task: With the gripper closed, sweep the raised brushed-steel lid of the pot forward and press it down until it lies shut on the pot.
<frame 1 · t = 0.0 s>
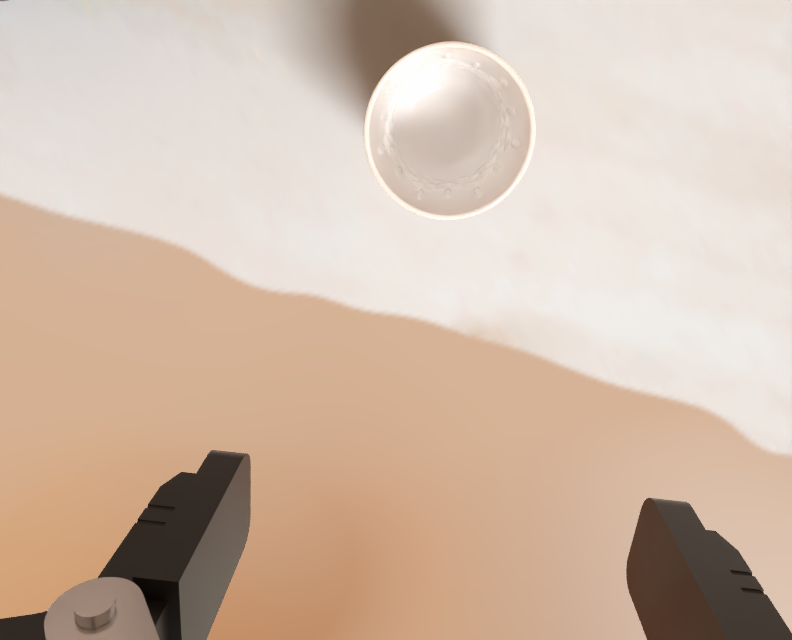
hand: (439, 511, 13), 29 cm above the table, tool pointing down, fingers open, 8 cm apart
white cup: (445, 122, 38), on the table
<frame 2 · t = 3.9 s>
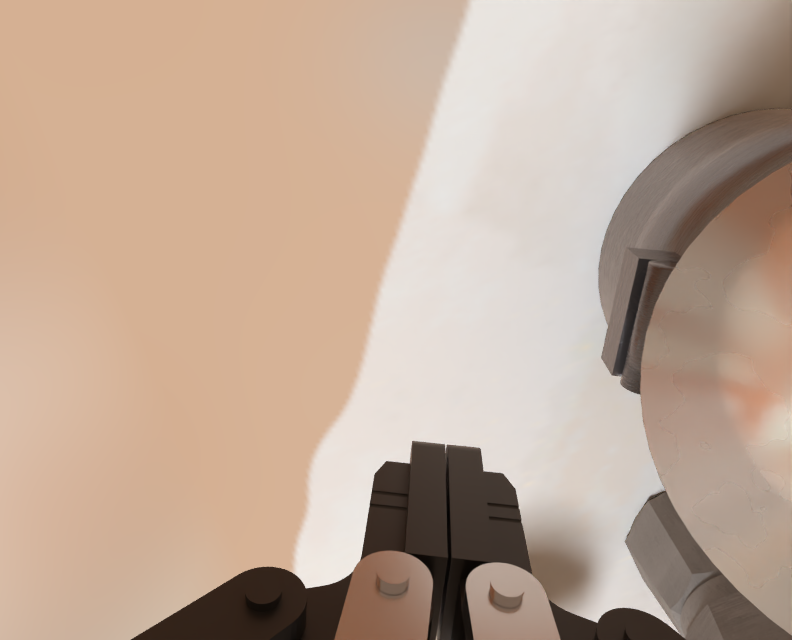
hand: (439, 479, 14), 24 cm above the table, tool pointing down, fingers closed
coffeepot: (680, 543, 43), on the table
pot: (749, 264, 36), on the table
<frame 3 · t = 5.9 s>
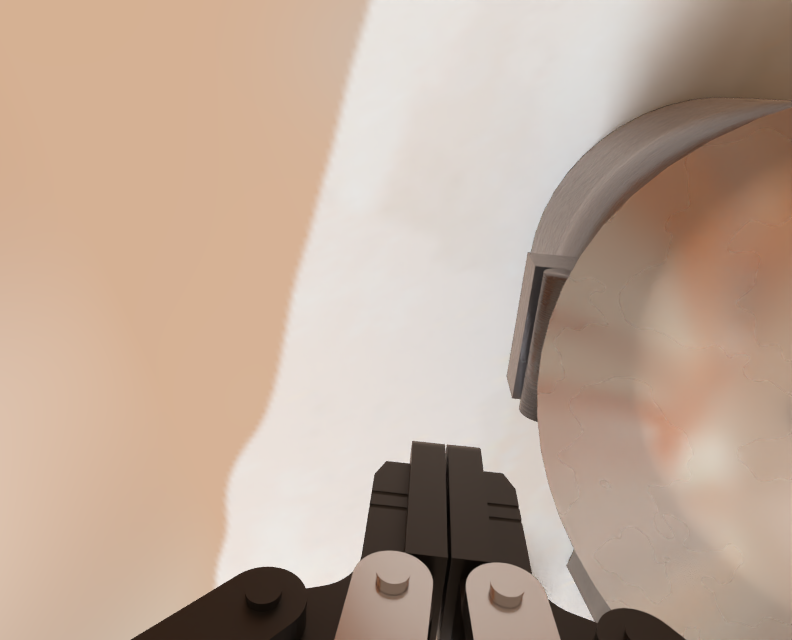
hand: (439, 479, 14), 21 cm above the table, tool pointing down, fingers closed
coffeepot: (626, 567, 40), on the table
pot: (692, 269, 33), on the table
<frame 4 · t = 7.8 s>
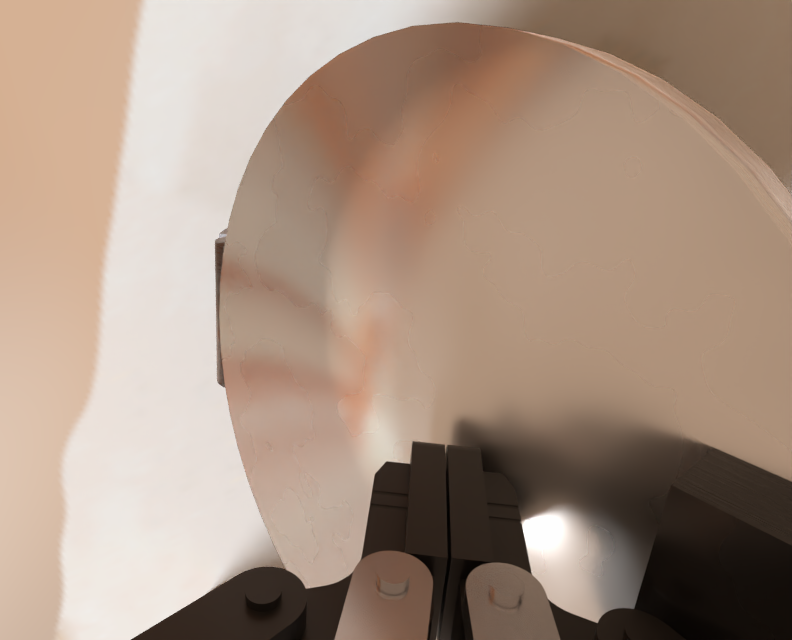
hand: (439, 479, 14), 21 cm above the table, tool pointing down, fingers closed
lid: (398, 429, 15), point 19 cm above the table, hinge at 42.6°, touching gripper, pot
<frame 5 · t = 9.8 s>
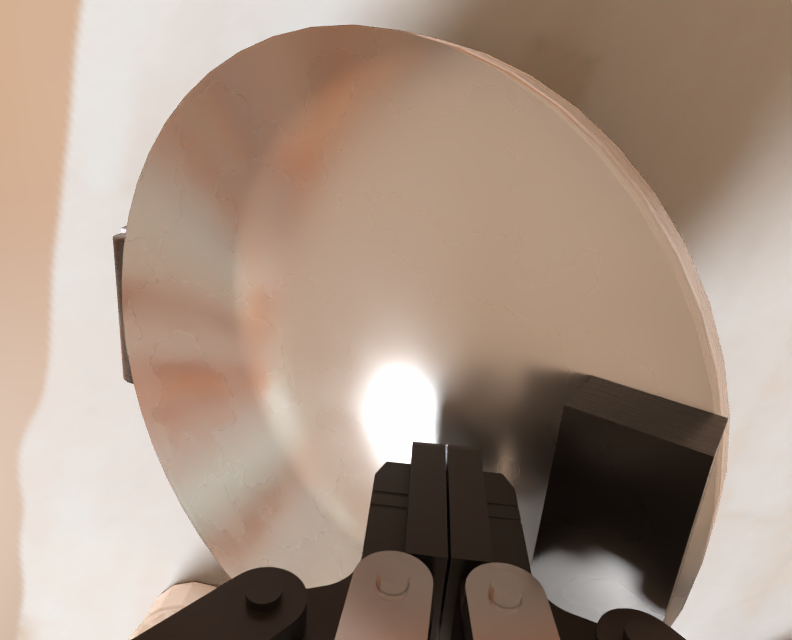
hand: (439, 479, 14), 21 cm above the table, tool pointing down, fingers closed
lid: (320, 399, 16), point 18 cm above the table, hinge at 29.2°, touching gripper
white cup: (202, 616, 44), on the table
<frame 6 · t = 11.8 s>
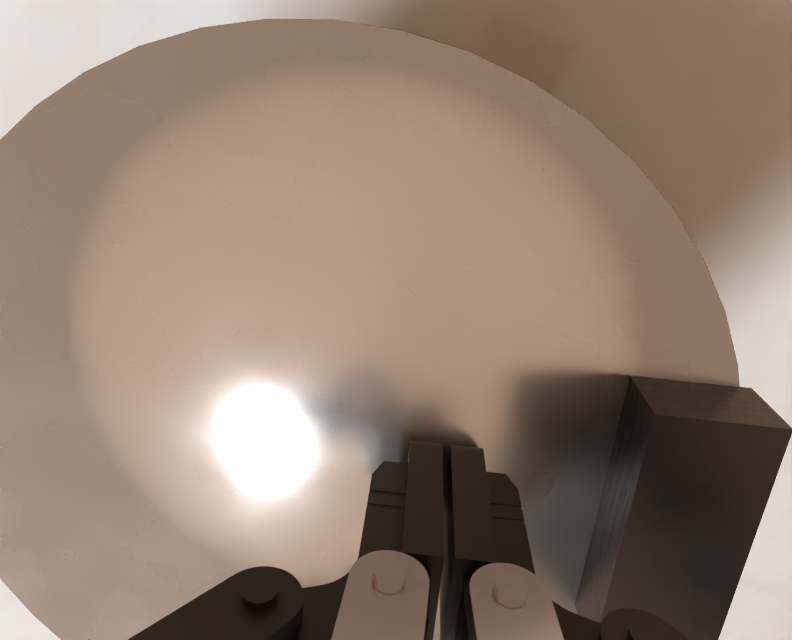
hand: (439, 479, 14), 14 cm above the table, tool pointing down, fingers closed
lid: (297, 464, 14), point 14 cm above the table, hinge at 1.5°, touching gripper
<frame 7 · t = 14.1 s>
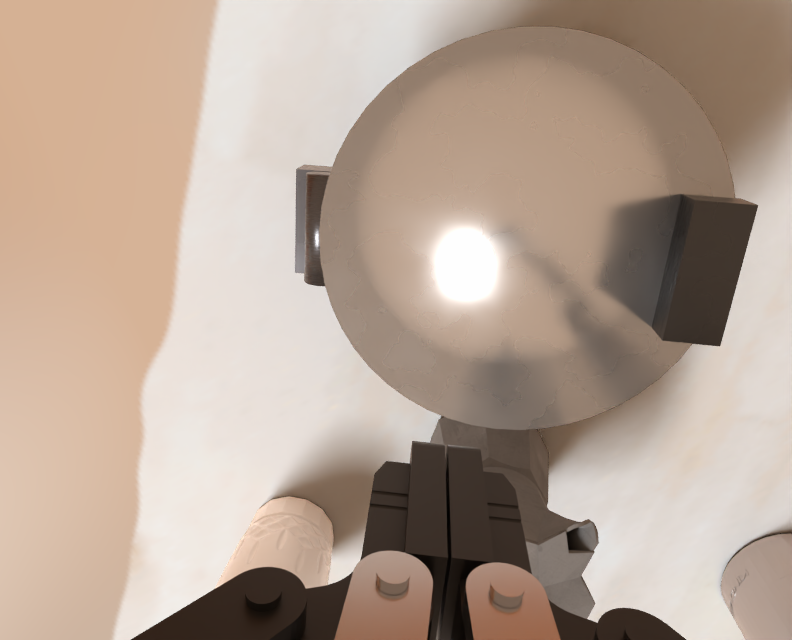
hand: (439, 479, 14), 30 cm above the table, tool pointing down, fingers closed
coffeepot: (475, 461, 48), on the table
lid: (511, 249, 28), point 14 cm above the table, hinge at 1.5°
pot: (495, 198, 41), on the table
white cup: (294, 528, 51), on the table
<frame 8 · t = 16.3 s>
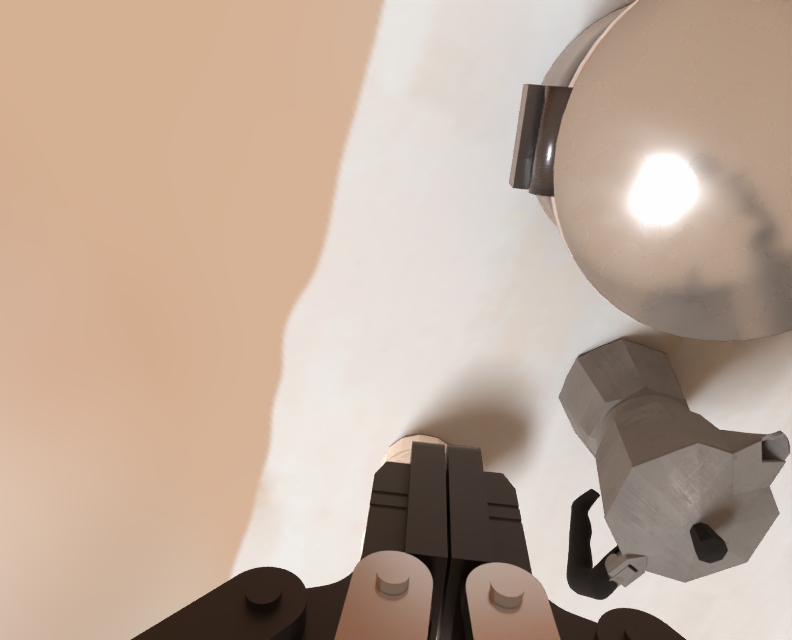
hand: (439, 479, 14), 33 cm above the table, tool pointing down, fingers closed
coffeepot: (607, 400, 49), on the table
lid: (742, 160, 29), point 14 cm above the table, hinge at 1.5°
pot: (653, 138, 42), on the table
white cup: (421, 467, 53), on the table
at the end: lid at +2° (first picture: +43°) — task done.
